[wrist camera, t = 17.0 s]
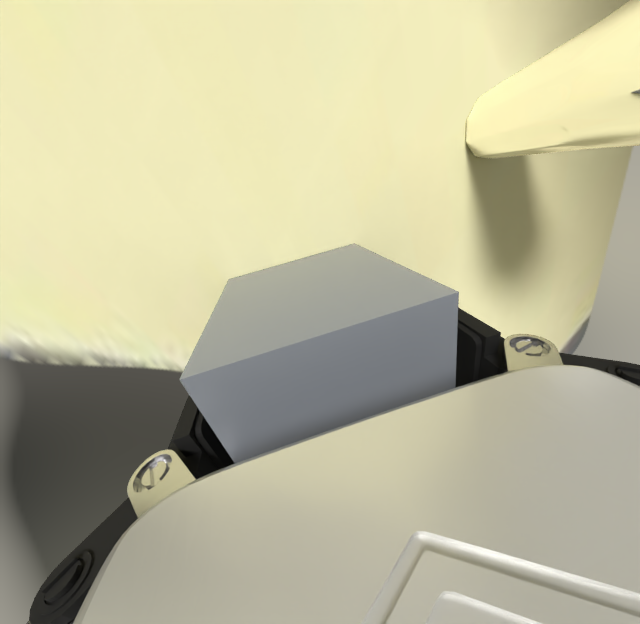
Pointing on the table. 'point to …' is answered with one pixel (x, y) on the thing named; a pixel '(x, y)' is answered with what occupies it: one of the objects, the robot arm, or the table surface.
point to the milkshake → (567, 96)
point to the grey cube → (320, 348)
